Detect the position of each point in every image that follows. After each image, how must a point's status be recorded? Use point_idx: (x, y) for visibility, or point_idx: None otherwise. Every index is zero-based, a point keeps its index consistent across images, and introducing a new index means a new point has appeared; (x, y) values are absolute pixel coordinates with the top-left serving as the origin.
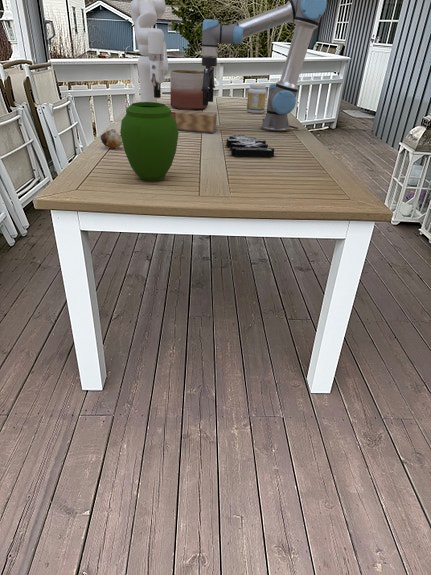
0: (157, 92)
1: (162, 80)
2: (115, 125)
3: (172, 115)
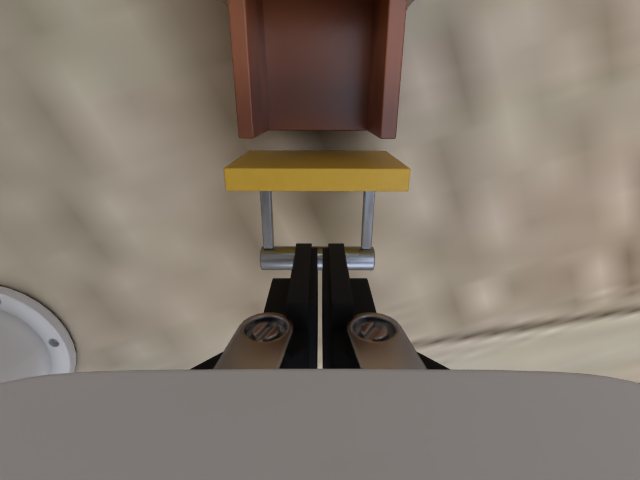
0: (372, 310)
1: (268, 424)
2: None
3: (403, 27)
